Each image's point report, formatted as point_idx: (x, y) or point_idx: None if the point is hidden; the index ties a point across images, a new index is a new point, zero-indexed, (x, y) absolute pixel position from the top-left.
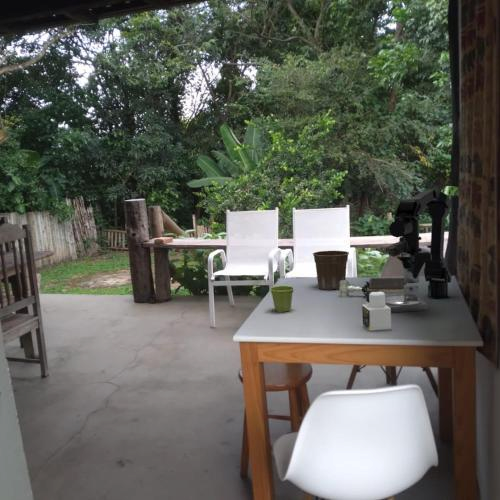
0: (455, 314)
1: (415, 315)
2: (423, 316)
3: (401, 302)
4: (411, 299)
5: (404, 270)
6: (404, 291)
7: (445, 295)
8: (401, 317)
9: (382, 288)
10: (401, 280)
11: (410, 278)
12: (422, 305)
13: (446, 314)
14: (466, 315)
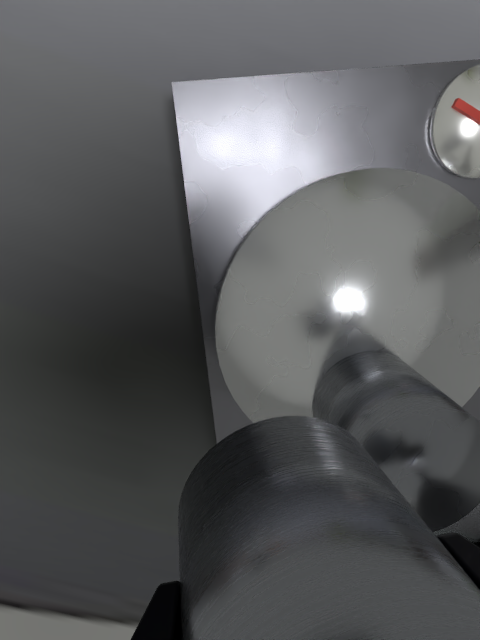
0: (71, 546)
1: (79, 324)
2: (45, 366)
3: (278, 295)
4: (317, 393)
5: (373, 620)
6: (402, 382)
7: None
8: (32, 205)
9: None
10: None
11: (193, 537)
12: (215, 429)
13: (78, 505)
14: (41, 587)
